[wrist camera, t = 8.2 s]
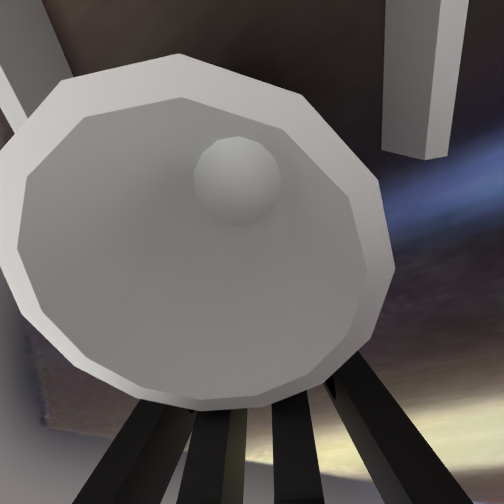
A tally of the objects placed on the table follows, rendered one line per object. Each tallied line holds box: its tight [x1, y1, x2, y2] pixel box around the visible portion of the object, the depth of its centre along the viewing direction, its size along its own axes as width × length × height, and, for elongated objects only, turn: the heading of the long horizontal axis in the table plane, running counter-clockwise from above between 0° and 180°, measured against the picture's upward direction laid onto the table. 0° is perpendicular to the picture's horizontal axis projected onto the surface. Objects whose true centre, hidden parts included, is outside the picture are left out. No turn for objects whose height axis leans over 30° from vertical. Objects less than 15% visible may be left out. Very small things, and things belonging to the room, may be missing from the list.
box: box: [0, 0, 469, 160], centre depth 12 cm, size 16×20×5 cm
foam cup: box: [0, 54, 395, 411], centre depth 12 cm, size 10×9×13 cm
